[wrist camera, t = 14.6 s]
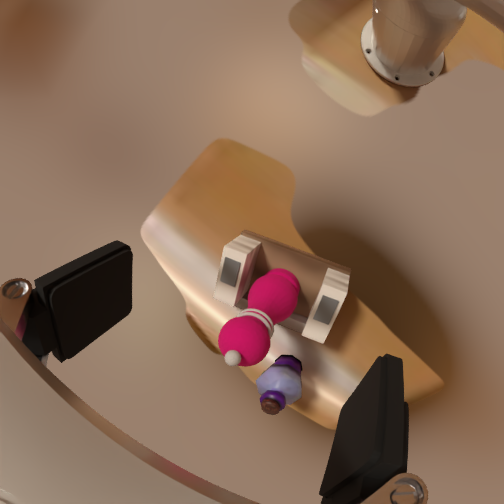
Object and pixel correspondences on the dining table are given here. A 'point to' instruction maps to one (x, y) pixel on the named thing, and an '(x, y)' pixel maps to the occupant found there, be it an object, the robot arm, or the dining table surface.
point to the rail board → (297, 262)
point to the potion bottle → (280, 384)
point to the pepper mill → (259, 318)
